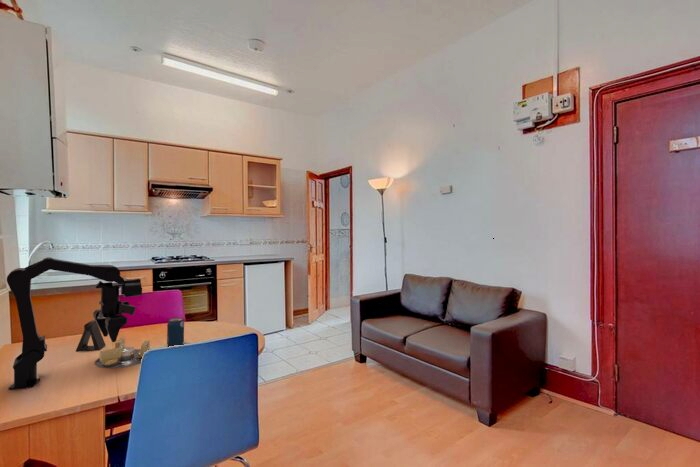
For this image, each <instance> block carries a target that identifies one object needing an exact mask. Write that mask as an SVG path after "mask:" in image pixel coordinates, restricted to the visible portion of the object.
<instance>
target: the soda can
mask: <svg viewBox="0 0 700 467" xmlns="http://www.w3.org/2000/svg"><path fill="white" fill-rule="evenodd" d="M166 327H167V328H166V345H167V346H168V347H169V346H174V345H184V343H185V322H184V318H182V317H173V318H169V320H168V322H167V325H166Z"/></svg>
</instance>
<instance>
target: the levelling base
mask: <svg viewBox="0 0 700 467" xmlns="http://www.w3.org/2000/svg"><path fill="white" fill-rule="evenodd" d="M125 339H126V338H125V337H120V338H118V340H116V342H114V348H119V347H120V346H121V347H122V349H121V358H118V364H117V365H115V366H111V367H103V366H102V362H101V361H100V357H99V358H97V359H96V360H95V361H94V365H95V366H96V367H98V368H102V369H123V368H128V367H132V366H136V365H140V364H142V363H141V359H142V356H143V354H144V352H146V351H147V350H151V349H150V346H151V345H150V340H144V341H143V343H142V344H141V345H140V349H139V348H137V349H136V348H135V347H133V346H125V345H126V343H125V342H126V340H125Z"/></svg>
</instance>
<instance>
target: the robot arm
mask: <svg viewBox="0 0 700 467" xmlns="http://www.w3.org/2000/svg"><path fill="white" fill-rule="evenodd" d="M47 271H48V272H49V271H56V272H57V271H58V272H64V273H70V274H75V275H76V274H78V275H85V276H89V277H90V276H91V277H92V278H95V279H98V280H99V281H98V282H97V283H96V284H95V285H94V288H96V289H100V300H99V302H98V304H99V305H100V309H95V310H94V311H93V313H92V314H93V315H92V317H93V318H94V320H95V321H96V323H97V324H98V327H99V330H100V332H101V335H102V337H105V338H106V337H108V336H109V339H110V341H111V342H112V343H116V342H117V338H118V336H119V332H120V330H121V328H122V327H123V326H126V325H127V324H128V317H127V316H126V315H123V314H128V315H131V316H134V315H135V312H136V309H137V306H134V305H132V304H130V302H129V301H126V300H123V301H121V300H120V295H122V296H123V297H124V298H130V297H132V298H133V297H139V296H140V297H141V296H142V294H143V287H142V282H141V281H142V280H141V278H134V279H125V278H124V277H122V276H121V271H120V269H119V268H118V267H117V266H115V265H113V264H89V263H88V264H87V263H82V262H76V261H69V260H64V259H56V258H54V257H49V256H48V257H45V258H43V259H42V260H39V261H38V262H34V263H33V264H30V265H28V266H26V267H17V268H15V269H13V270H11V271H10V272H9V273H8V274H7V276H6V283H7V285H8V287H9V290H10V291H11V293H12V295H13V297H14V298H15V305H16V307H17V312H18V313H17V314H18V319H19V323H20V328H21V329H20V330H21V333H22V346H21V353H20V354H18V356H16V358H14V362H13V365H12V369H13V384H11V385H10V386H9V387H8V389H7V390H15V389H16V390H17V389H29V388H33V387H34V386H36V385H37V384H38V383H39V382H40V381H41V378H38V376H37V375H38V363H39V362H40V361H42V359H43V358H45V352H47V351H48V345H47V343H46V335H42V336H40V334H39V333H38V328H37V324H36V317H35V312H34V308H33V307H34V306H33V301H32V295H31V290H32V289H31V288H32V279H34V278H37V277H39V276H40V275H41V274H44V273H46V272H47ZM102 281H105V282H102ZM113 282H114V283H113Z"/></svg>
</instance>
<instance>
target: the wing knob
mask: <svg viewBox="0 0 700 467" xmlns="http://www.w3.org/2000/svg"><path fill="white" fill-rule="evenodd" d="M121 349H122V347H121V346H120V347H119V348H115V347H114V348H110V349H105V350H104V349H103V350H99V358H100V361H101V362H102V366H103V367H111V366H115V365H117V364H118V358H121Z"/></svg>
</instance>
